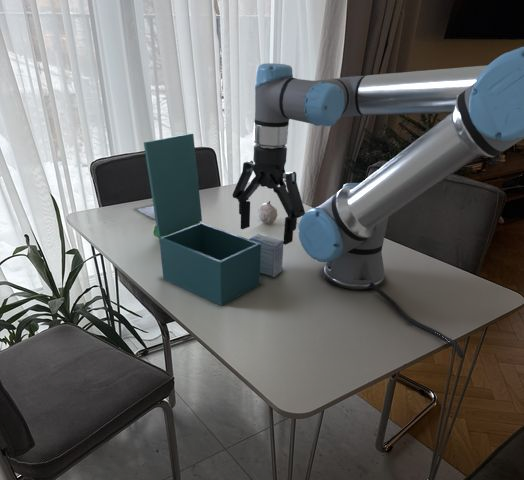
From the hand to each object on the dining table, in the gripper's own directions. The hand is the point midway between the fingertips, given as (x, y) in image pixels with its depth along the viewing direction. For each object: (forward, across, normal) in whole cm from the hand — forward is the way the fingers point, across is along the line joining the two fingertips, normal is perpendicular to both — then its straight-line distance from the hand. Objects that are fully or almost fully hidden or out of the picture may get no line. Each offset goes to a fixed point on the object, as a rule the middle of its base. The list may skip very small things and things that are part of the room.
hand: (265, 235), depth 118 cm
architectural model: (+10, +53, -13) cm, 55 cm away
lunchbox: (+10, +6, +14) cm, 18 cm away
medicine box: (+10, 0, 0) cm, 10 cm away
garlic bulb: (+10, +21, -28) cm, 36 cm away
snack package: (+10, +32, 0) cm, 33 cm away
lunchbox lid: (-12, +16, +14) cm, 24 cm away
